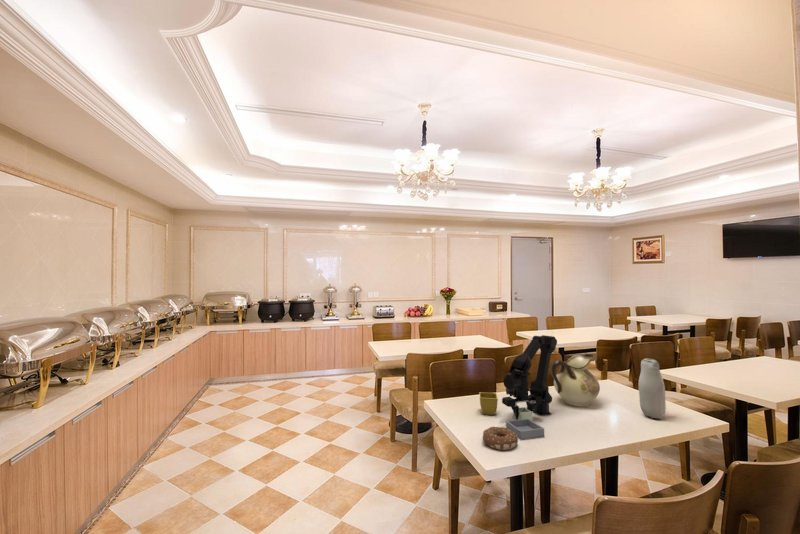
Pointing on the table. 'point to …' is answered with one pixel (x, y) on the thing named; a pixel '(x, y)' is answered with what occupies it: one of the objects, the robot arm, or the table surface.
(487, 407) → the flower pot
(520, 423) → the big crate
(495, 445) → the donut
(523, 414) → the small crate
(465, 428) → the table surface
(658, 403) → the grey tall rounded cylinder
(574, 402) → the pitcher
